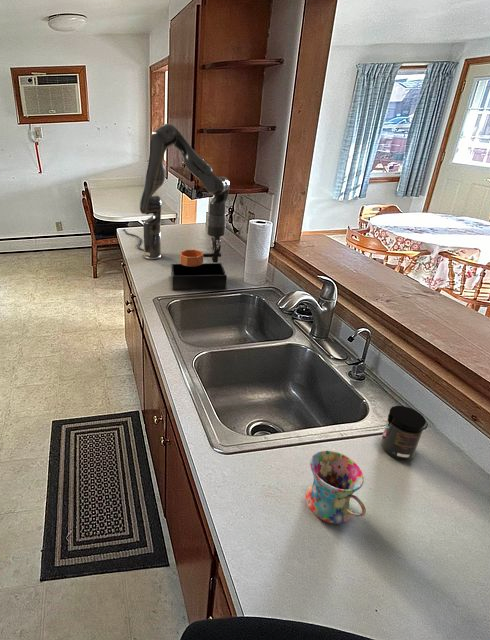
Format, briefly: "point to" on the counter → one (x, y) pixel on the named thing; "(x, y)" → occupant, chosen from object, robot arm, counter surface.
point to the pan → (193, 257)
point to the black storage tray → (198, 277)
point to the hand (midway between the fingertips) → (214, 261)
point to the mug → (334, 486)
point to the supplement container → (402, 432)
